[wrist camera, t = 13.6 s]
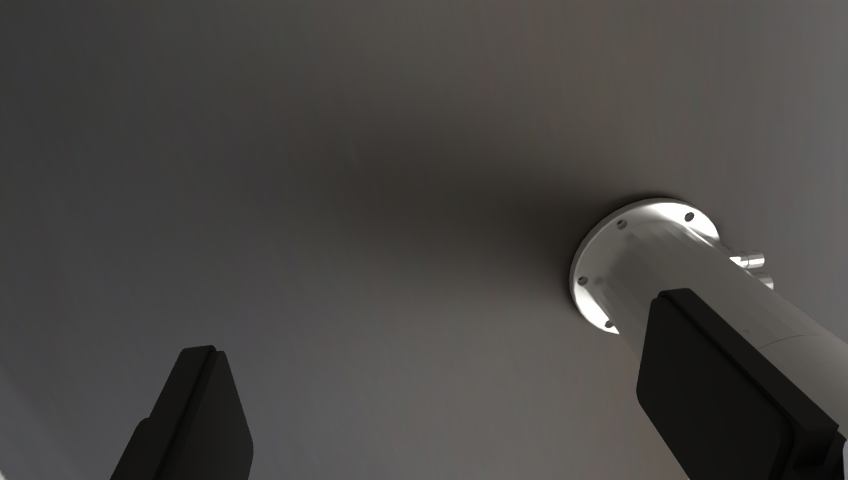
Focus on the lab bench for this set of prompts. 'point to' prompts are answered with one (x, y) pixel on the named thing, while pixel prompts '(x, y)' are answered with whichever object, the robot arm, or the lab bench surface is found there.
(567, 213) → the lab bench surface
